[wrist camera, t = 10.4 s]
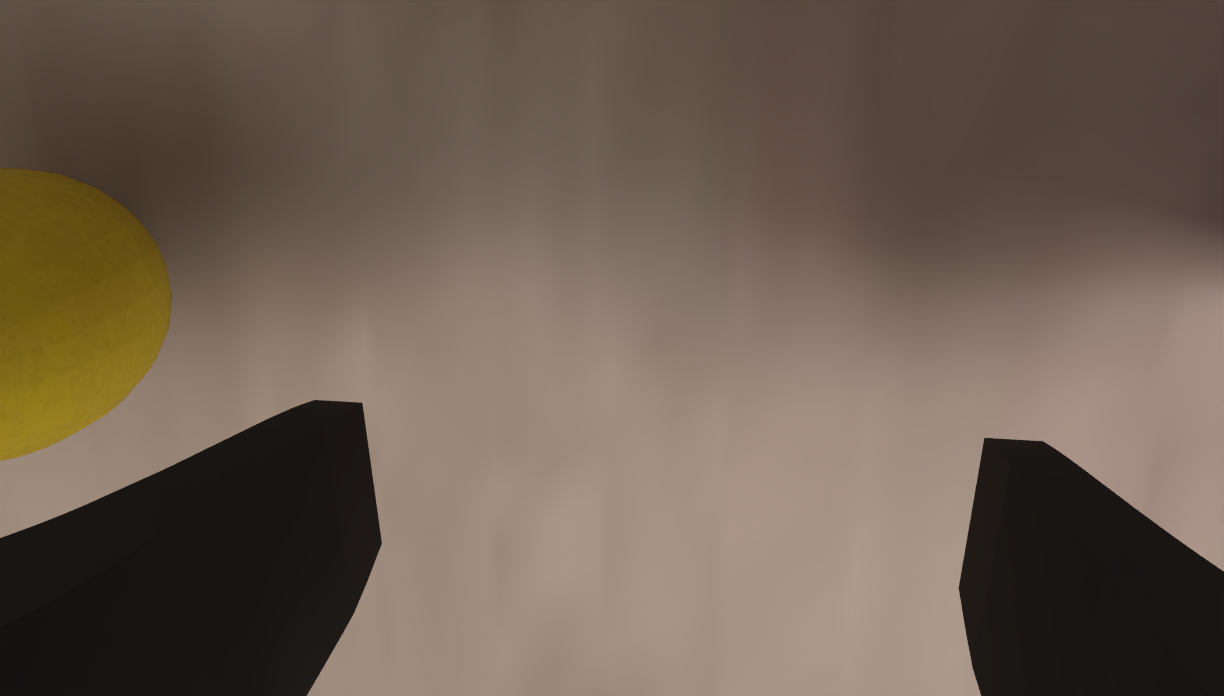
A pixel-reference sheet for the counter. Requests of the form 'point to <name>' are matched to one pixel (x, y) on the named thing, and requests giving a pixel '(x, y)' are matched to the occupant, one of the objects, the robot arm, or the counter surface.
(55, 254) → the lemon
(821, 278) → the counter surface
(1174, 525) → the counter surface
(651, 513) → the counter surface
